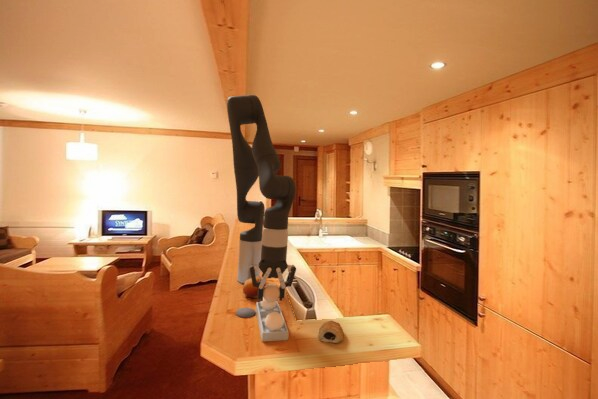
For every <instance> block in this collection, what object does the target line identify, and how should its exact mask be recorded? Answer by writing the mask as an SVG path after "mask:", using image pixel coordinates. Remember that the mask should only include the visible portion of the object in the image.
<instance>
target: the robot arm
mask: <svg viewBox="0 0 598 399" xmlns="http://www.w3.org/2000/svg"><path fill="white" fill-rule="evenodd" d="M226 111H227V118H228V124H229V130H230V136H231V137H230V138H231V145H232V156H233V157H232V159H233V160H232V161H233V169H234V172H233V173H234V179H235V186H236V187H235V188H236V212H237V213H236V215H237V220H238V221H239V223H243V224H250V225H251V224H254V226H253V227H252V228H250V229H248V230H244V231H241V232H240V234H239V241H238V242H239V245H238V262H237V278H236V280H237V282H238V283H241V284H245V282H246V280H248V279H250V278H252V284H253V287H257V288H258V298H257V299H258V300H259V302H261V301H263V286H264V284H265V285H266V282H267V280H268V279H273V278H274V279H278V281H279V284H280V285H279V286H278V287H279V289H280V296H279V298H278V302H279V301H280V302H282V301H283V299H285V294H286V288H287V287H291V286H292V285H293V282H294V279H295V275H296V271H297V268H296V266H295V265H294V264H288V263H287V254H288V241H289V235H288V228H289V215H290V212H291V209H292V207H293V203H294V200H295V197H296V192H297V186H296V182H295V180H294V178H293V177H291V176H289V175H283V174H282V175H280V174H276V173H277V172H279V171H280V169H281V166H282V164H281V160H280V157H279V155H278V153H277V151H276V149H275V146H274V144H273V141H272V139H271V138H272V137H271V135H270V129H269V127H268V122H267V119H266V116H265V110H264V108H263V104H262V102H261V100H260V98H259V96H257V95H255V94H246V95H245V94H244V95H232V96H229V97H228V98H227V101H226ZM252 124H255V125H256V131H255V135H254V138H253V141H252V144H251V145H250V143H248V142H247V140H246V138H245V137H244V135H243V132H242V130H241V129H242V128H241V126H244V125H252ZM257 181H258V182H259V184H258V187H259V191H260V193H261V195H263V197H264V198H266V199H268V200H276V201H275V203H274V205H273V206H270V207H267V208H266V209H265V203H264V202H262V201H256V200H255V201H252V200H247V195H248V193H249V192H250V190H251V189H252V187H253V186H254V184H256V182H257ZM286 270H287V272H288V274H287V278H286V281H285V280H284V277H283V274H284V273H285V271H286ZM256 276H257V277H261V279H260V281H259V282H258V281H256Z"/></svg>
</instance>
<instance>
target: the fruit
mask: <svg viewBox="0 0 598 399" xmlns="http://www.w3.org/2000/svg"><path fill="white" fill-rule="evenodd" d="M260 279H261V276H260V277H257V276H256V281H258V282H259V281H260ZM265 286H266V283H265V284H264V286H263V289H264V287H265ZM242 293H243V294H244V295H245V296H246V297H247V298H249V299H254V298H256V299H258V288H257V287H253V284H252V278H250V279H248V280H246V282H245V283H243V287H242Z"/></svg>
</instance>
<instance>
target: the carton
mask: <svg viewBox="0 0 598 399" xmlns="http://www.w3.org/2000/svg"><path fill="white" fill-rule="evenodd" d="M260 302H261V301H256V303H255V304H256V306H255V312H256V315H257V322H258V327H259V333H260V338H261V342H274V341H275V342H276V341H288V340H289V333H290V330H289V329H288V326H287V324H286V321H285V317H284V315H283V312H282V309H281V307H280V304H279V301H277V305H276V307H275V309H274V310H267V311H264V310H263V309H262V308H261V305H260ZM272 312H277V313H279V314H281V316H282V317H283V321H284V323H283V327H282V328H281V330H279V331H276V332H270V331H268V330H267V329H266V327H265V318H266V317H267V315H268V314H270V313H272Z"/></svg>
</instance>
